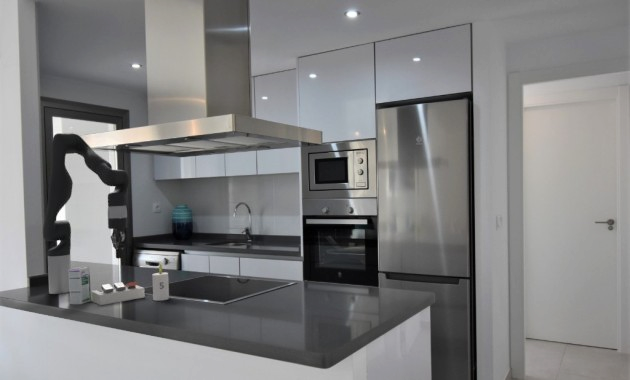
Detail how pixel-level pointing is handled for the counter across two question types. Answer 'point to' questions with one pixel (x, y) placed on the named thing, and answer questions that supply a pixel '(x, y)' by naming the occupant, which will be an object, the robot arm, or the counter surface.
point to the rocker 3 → (131, 284)
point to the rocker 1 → (107, 288)
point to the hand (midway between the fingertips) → (119, 258)
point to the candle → (160, 285)
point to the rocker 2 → (119, 286)
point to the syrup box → (79, 285)
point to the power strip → (118, 295)
